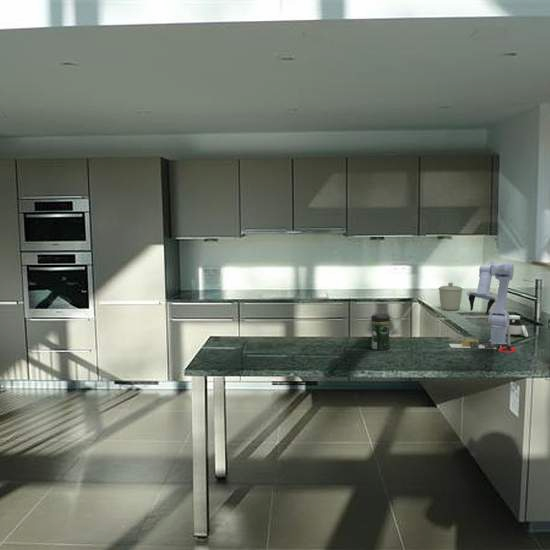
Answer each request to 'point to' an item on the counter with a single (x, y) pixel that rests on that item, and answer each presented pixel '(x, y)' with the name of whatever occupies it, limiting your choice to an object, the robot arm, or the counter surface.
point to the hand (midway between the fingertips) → (479, 311)
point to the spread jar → (516, 326)
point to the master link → (468, 342)
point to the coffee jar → (380, 332)
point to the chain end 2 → (488, 344)
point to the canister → (450, 296)
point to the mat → (465, 347)
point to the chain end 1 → (474, 345)
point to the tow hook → (508, 344)
